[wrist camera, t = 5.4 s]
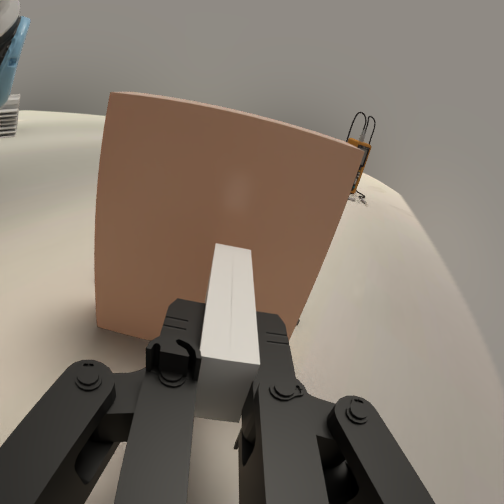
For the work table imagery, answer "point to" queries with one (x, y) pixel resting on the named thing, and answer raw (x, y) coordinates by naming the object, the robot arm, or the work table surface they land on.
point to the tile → (210, 207)
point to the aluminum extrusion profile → (9, 116)
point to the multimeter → (366, 148)
